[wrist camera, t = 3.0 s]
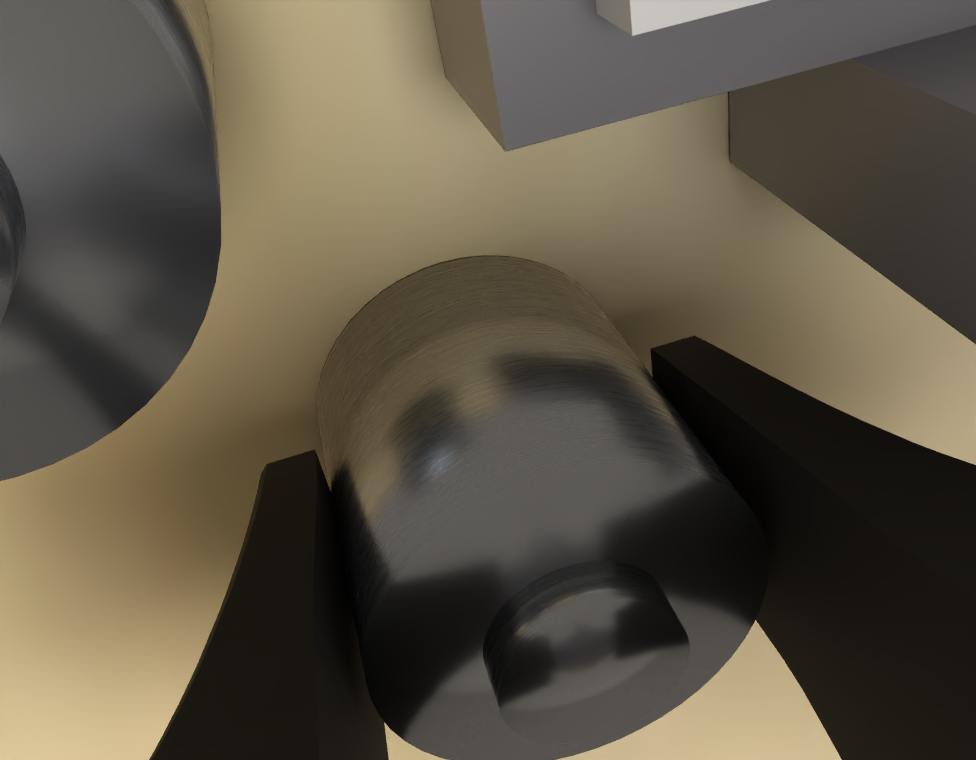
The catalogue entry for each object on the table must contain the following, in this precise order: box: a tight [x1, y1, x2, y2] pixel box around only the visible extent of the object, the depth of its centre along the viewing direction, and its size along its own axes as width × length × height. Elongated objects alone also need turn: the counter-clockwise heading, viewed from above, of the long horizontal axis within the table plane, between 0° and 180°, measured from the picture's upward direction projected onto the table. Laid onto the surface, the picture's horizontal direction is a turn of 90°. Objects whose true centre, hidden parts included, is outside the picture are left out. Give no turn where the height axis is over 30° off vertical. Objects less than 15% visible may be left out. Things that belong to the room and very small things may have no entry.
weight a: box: [317, 256, 769, 760], centre depth 11 cm, size 4×4×5 cm
